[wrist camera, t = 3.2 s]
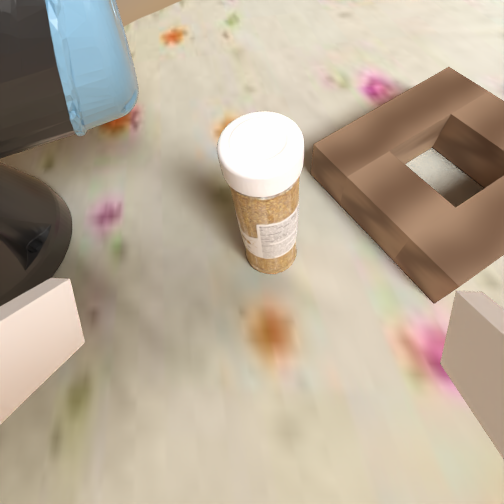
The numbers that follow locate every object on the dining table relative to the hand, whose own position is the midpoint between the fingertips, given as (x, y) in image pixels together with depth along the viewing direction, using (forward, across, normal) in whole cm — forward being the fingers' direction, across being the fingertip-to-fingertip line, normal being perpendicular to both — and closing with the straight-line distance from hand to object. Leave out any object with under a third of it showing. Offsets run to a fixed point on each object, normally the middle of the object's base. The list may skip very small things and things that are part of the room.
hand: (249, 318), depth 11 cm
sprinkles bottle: (+17, 0, -4) cm, 17 cm away
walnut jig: (+22, +14, +1) cm, 26 cm away
